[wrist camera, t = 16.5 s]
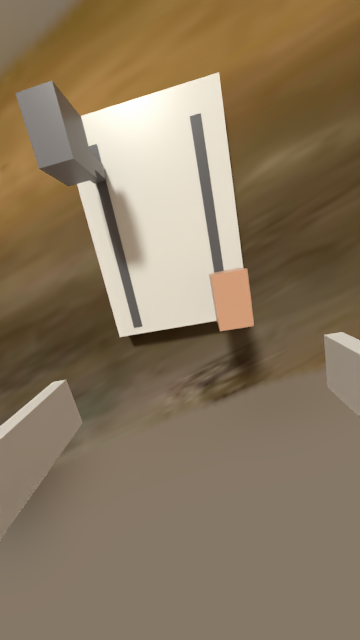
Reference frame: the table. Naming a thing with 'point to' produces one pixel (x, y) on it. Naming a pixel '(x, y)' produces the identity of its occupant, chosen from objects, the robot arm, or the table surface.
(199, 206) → the fader panel
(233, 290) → the fader
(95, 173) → the fader
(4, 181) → the table surface
